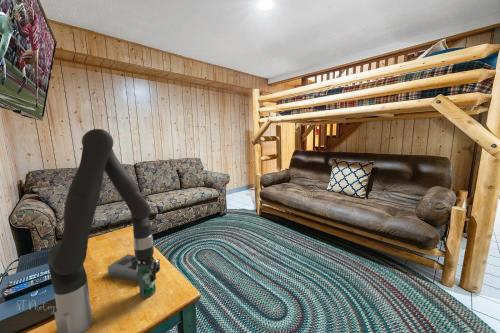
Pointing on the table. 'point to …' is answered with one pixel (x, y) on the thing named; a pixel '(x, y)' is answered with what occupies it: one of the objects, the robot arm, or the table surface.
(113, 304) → the table surface
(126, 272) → the block with square hole
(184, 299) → the table surface
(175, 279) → the table surface
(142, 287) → the can
